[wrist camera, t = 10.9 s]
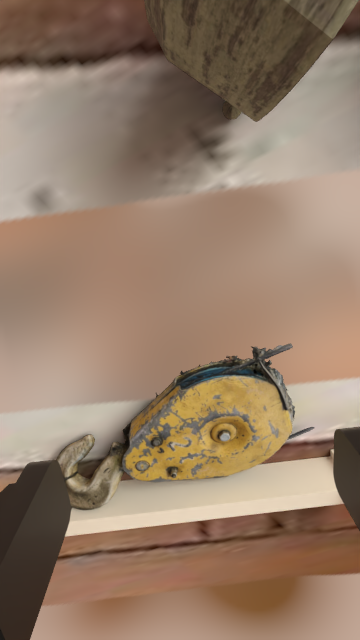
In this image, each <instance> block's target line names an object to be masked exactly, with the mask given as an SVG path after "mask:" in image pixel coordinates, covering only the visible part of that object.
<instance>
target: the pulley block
mask: <svg viewBox="0 0 360 640" xmlns="http://www.w3.org/2000/svg"><path fill="white" fill-rule="evenodd" d="M292 347H293V346H292V345H291V344H287V345H284V346H277V347H276V348H274V349H273V350H271V349H269V350H268V351H267V352H266V351H265V349H266V348H263V349H258V348H257V347H252V348H253V357H254V358H253V359H245V360H241V359H239V358H237V356H232V357H230V356H227V357H226V358H229V359H228V360H224V361H219V362H211V363H209V364H207V365H204V366H200V365H199V366H198V367H196V368H194V369H191V370H189V371H186V372H184V373H183V372H182V371H181V375H179V376H178V377H176V378H175V379H174V381H173V382H172V383H171V384H170V385H169V386H168V387H167V388H166V389H165V390H164V391H163V392H162V393H161V394H160V395H157V396H156V399H155V400H154V401H153V402H151V403H150V404H149V405H148V406H147V407H146V408H145V409H144V410H143V411H142V412H141V413H140V414H139V415H137V416H136V417H135V418H134V419H133V420H132V421H131V423H130V424H129V425H128V426H127V427H125V429H123V432H124V435H125V440H126V442H125V444H122V443H120V442H114V443H112V445H111V449H110V451H109V453H108V454H107V456H106V457H105V459H104V460H103V461H102V463H101V464H100V465H99V466H98V468H97V469H96V470H95V471H94V474H93V476H92V478H91V479H87V478H85V477H83V476H81V475H80V474H79V473H78V470H77V464H78V463H79V462H80V461H81V460H82V459H83V458H84V457H85V456H86V455H87V454H88V453H89V451H90V450H91V449H92V447H93V446H94V441H95V439H94V437H93V436H92V435H87V436H85V437H83V438H82V439H80V440H79V441H77V442H74V443H72V444H70V445H68V446H67V447H66V448H65V449H64V450H62V451H61V453H60V454H59V456H58V457H57V459H56V460H57V461H58V462H59V464H60V467H61V471H62V474H63V478H64V481H65V484H66V488H67V491H68V495H69V498H70V503H71V510H72V508H76V509H79V510H92V509H96V508H99V507H101V506H103V505H105V504H107V503H108V502H109V500H110V499H111V498H112V497H113V496H114V494H115V492H116V490H117V488H118V485H119V482H120V480H121V477H122V475H123V473H124V472H126V473H127V474H128V475H129V476H130V477H131V478H133V479H135V480H138V481H146V482H155V483H156V482H168V481H180V480H195V479H210V478H221V477H227V476H229V475H232V474H235V473H238V472H241V471H244V470H247V469H250V468H252V467H254V466H256V465H258V464H260V463H262V462H263V461H265V460H266V459H268V458H269V457H271V456H272V455H273V454H274V453H275V452H277V451H278V450H279V449H280V448H281V446H282V445H283V444H284V443H285V442H286V441H287V440H288V439H291V438H294V437H296V436H298V435H301V434H303V433H306V432H308V431H310V430H312V429H314V427H310V428H307V429H304V430H302V431H299V432H297V433H295V434H292V435H290V434H291V432H292V418H294V414H295V411H294V408H295V406H293V405H292V401H291V399H290V397H289V396H288V394H287V389H286V387H285V384H284V383H283V377H282V375H280V373H279V372H278V371H277V370H276V369H271V368H270V367H269V366H270V365H271V364H272V363H271V361H270V360H269V361H268V362H265V361H264V359H268V358H269V357H271V356H274V355H276V354H278V353H281V352H283V351H286V350H288V349H290V348H292Z"/></svg>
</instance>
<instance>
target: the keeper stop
mask: <svg viewBox="0 0 360 640" xmlns="http://www.w3.org/2000/svg"><path fill="white" fill-rule="evenodd" d="M333 462H334V449H332V450H330V456H329V457H320V458H312V459H303V460H294V461H286V462H277V463H269V464H260V465H256V466H254V467H252V468H250V469H247V470H244V471H241V472H238V473H235V474H232V475H229V476H227V477H221V478H210V479H195V480H180V481H168V482H156V483H155V482H146V481H138V480H135V479H133V480H124V481H120V482H119V485H118V488H117V490H116V492H115V494H114V496H113V497H112V498H111V499H110V500H109V502H108V503H107V504H105V505H103V506H101V507H99V508H96V509H92V510H79V509H76V508H72V510H71V515H70V521H69V525H68V528H67V531H66V534H65V536H73V535H82V534H90V533H99V532H107V531H116V530H124V529H133V528H141V527H150V526H158V525H167V524H175V523H184V522H192V521H201V520H210V519H218V518H227V517H235V516H244V515H252V514H261V513H269V512H278V511H286V510H295V509H303V508H312V507H320V506H329V505H337V504H344V503H343V501H342V499H341V498H340V496H339V493H338V491H337V488H336V485H335V481H334V475H333Z"/></svg>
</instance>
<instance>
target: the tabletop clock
mask: <svg viewBox="0 0 360 640" xmlns="http://www.w3.org/2000/svg"><path fill="white" fill-rule="evenodd" d="M144 1H145V7H146V13H147V19H148V22H149V24H150V26H151V28H152V30H153V32H154V34H155V36H156V38H157V40H158V42H159V44H160V46H161V48H162V50H163V52H164V54H165V56H166V58H167V60H168V61H170V62H171V63H173V64H174V65H175V66H177V67H178V68H180V69H181V70H183V71H184V72H185V73H187V74H188V75H190V76H191V77H193V78H194V79H195V80H197V81H198V82H200V83H201V84H203V85H204V86H205V87H207V88H208V89H210V90H211V91H213V92H214V93H215V94H217V95H218V96H220V97H221V98H223V99H224V100H225V102H224V105H223V109H222V110H223V113H224V116H225V117H226V118H228V119H230V120H232V119H236V118H237V117H238V116H239V115H240V114H241V112H243V113H244V114H245V115H247V116H248V117H250V118H251V119H253V120H254V121H255V122H256V121H259V120H260V119H262V118H263V117H264V116H265V115H267V114H268V113H269V112H270V111H271V110H272V109H273V108H274V107H275V106H276V105H277V104H278V103H279V102H280V101H281V100H282V99H283V98H284V97H285V96H286V95H287V94H288V93H289V92H290V91H291V90H292V88H293V87H294V86H295V85H296V84H297V83H298V82H299V81H300V79H301V78H302V77H303V76H304V75H305V74H306V72H307V71H308V70H309V69H310V68H311V67H312V65H313V64H314V63H315V62H316V60H317V59H318V58H319V57H320V55H321V54H322V53H323V51H324V50H325V49H326V48H327V46H328V45H329V44H330V43H331V41H332V40H333V39H334V37H335V36H336V34H337V33H338V31H339V30H340V28H341V27H342V25H343V23H344V22H345V20H346V19H347V17H348V16H349V14H350V13H351V11H352V10H353V8H354V7H355V5H356V4H357V2H358V1H359V0H144Z"/></svg>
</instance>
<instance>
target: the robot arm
mask: <svg viewBox="0 0 360 640" xmlns="http://www.w3.org/2000/svg"><path fill="white" fill-rule="evenodd" d="M333 475H334V481H335V485H336V488H337V491H338V493H339V496H340V498H341V499H342V501H343V503H344V505H345V506H346V508H347V510H348V512H349V513H350V515H351V517H352V518H353V520H354V522H355V524H356V525H357V527H358V529H359V531H360V427H353V428H344V429H337V430H336V431H335V434H334V462H333ZM70 515H71V503H70V498H69V495H68V491H67V488H66V484H65V481H64V478H63V474H62V471H61V467H60V464H59V462H58V461H57V460H48V461H39V462H31V463H28V464H27V465H26V467H25V468H24V470H23V472H22V474H21V475H20V477H19V479H18V480H17V482H16V483H14V484H9V485H8V486H7V487H6V488H5V489H4V490H3V491H1V492H0V640H30V637H31V635H32V632H33V628H34V626H35V623H36V620H37V617H38V614H39V611H40V608H41V605H42V602H43V599H44V596H45V593H46V590H47V587H48V584H49V581H50V578H51V576H52V573H53V570H54V567H55V564H56V561H57V558H58V555H59V552H60V549H61V546H62V543H63V540H64V537H65V534H66V531H67V528H68V525H69V521H70Z"/></svg>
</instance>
